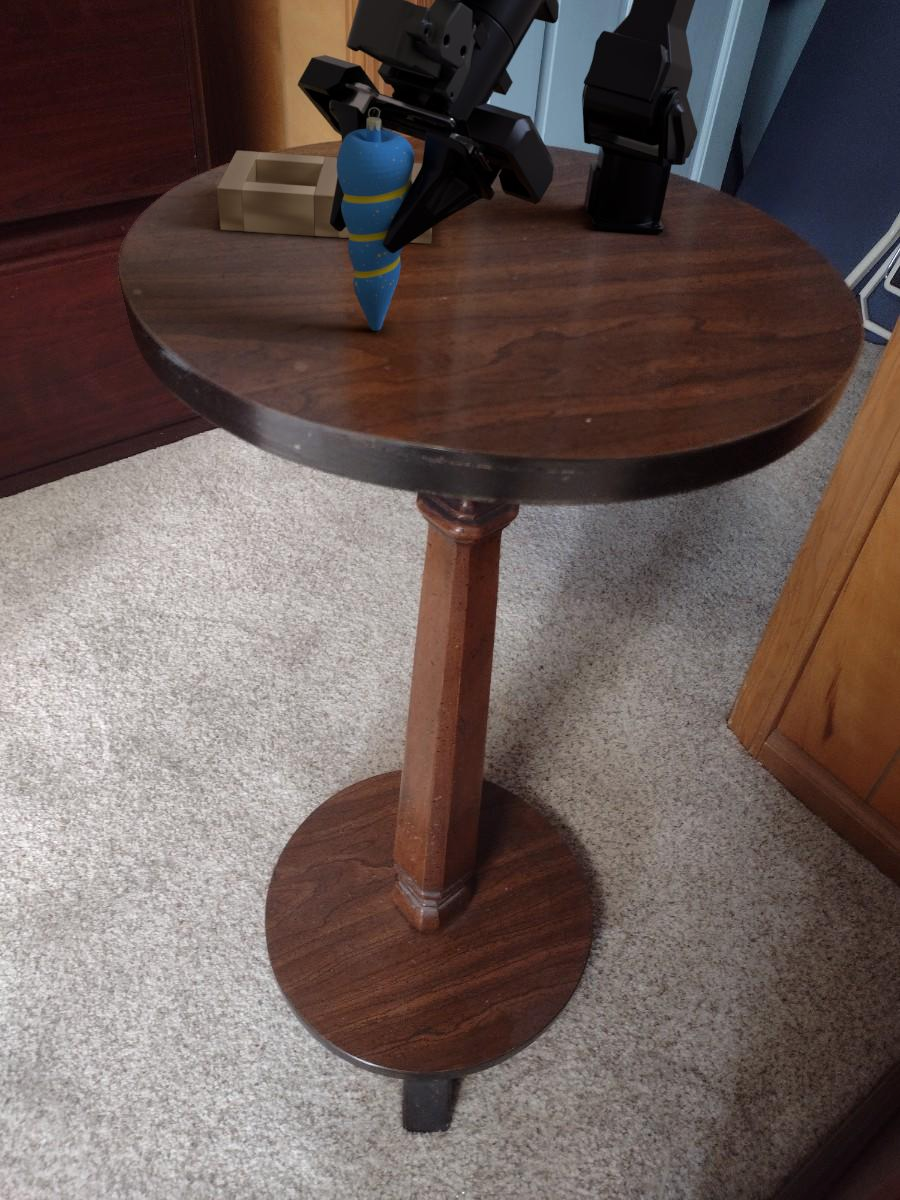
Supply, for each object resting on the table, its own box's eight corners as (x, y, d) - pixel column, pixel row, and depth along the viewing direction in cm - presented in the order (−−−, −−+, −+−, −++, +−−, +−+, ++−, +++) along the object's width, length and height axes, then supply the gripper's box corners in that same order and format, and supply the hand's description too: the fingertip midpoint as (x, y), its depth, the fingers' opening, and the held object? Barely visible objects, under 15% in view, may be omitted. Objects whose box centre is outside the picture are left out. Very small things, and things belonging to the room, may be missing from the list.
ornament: (418, 342, 70) (430, 118, 60) (349, 350, 68) (350, 121, 58) (394, 311, 73) (402, 94, 63) (328, 318, 71) (326, 96, 61)
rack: (432, 203, 91) (434, 164, 89) (430, 244, 83) (433, 202, 81) (239, 189, 90) (236, 150, 88) (220, 230, 83) (216, 187, 80)
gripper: (314, -89, 61) (193, 129, 62) (553, -40, 53) (411, 212, 54) (394, 36, 71) (289, 223, 72) (606, 95, 63) (486, 305, 64)
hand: (360, 238), depth 65 cm, fingers closed on ornament, 4 cm apart
